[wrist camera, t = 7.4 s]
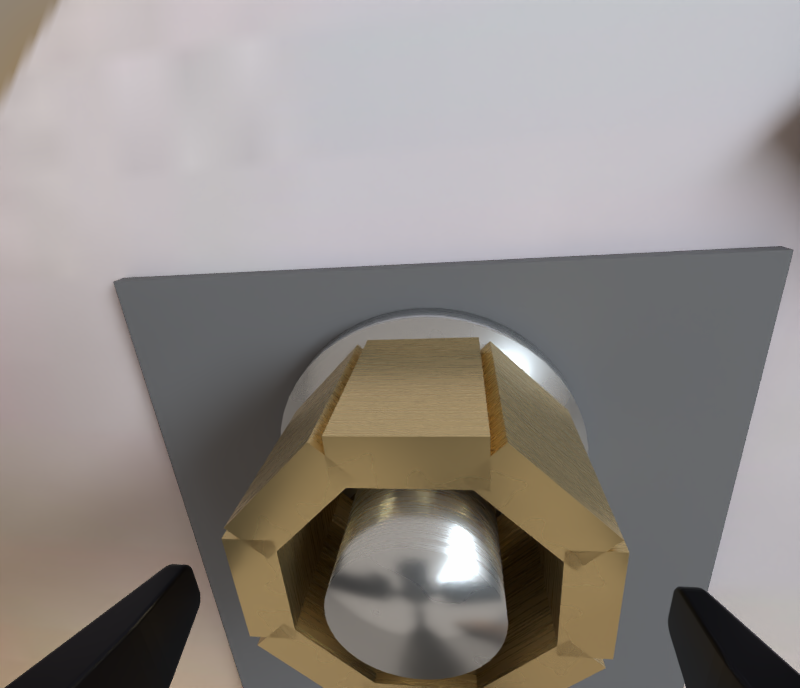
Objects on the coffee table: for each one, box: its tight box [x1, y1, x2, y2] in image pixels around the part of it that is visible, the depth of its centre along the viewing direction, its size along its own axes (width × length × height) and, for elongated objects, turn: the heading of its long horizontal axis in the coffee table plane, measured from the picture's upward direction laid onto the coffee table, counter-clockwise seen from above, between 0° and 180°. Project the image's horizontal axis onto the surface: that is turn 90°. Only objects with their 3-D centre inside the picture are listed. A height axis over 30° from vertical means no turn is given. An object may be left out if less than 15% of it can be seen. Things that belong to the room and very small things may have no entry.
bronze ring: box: [222, 337, 630, 688], centre depth 10 cm, size 7×7×4 cm
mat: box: [114, 246, 793, 688], centre depth 15 cm, size 22×16×1 cm
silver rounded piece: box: [281, 308, 588, 680], centre depth 10 cm, size 8×8×5 cm
